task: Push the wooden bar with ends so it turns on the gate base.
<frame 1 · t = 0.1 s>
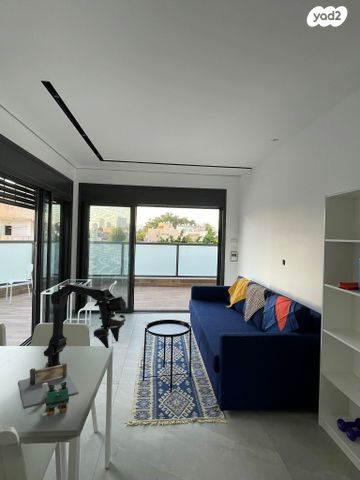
hand: (112, 344, 143), 15 cm above the table, tool pointing down, fingers open, 9 cm apart
gate base: (47, 387, 131), on the table
wooden bar with ends: (48, 372, 135), point 4 cm above the table, hinge at 0.0°
binoculars: (56, 407, 116), on the table
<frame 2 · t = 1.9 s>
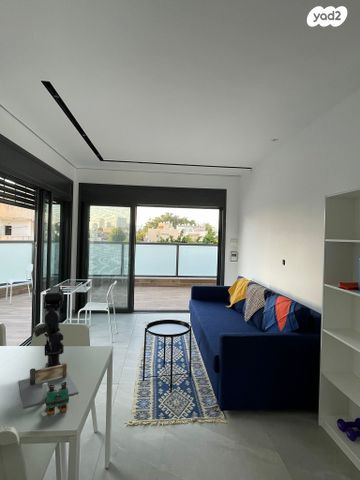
hand: (52, 350, 140), 13 cm above the table, tool pointing down, fingers open, 3 cm apart
nothing on the table moved.
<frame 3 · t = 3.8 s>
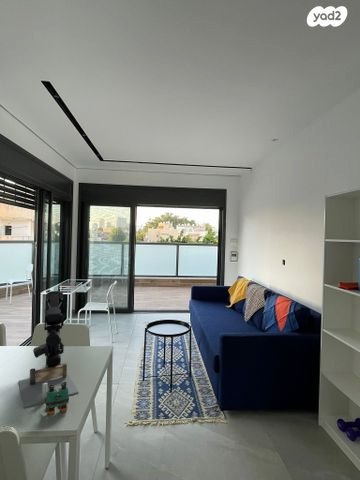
hand: (52, 371, 139), 4 cm above the table, tool pointing down, fingers closed
wooden bar with ends: (48, 372, 135), point 4 cm above the table, hinge at -0.9°, touching gripper
everything else where it was.
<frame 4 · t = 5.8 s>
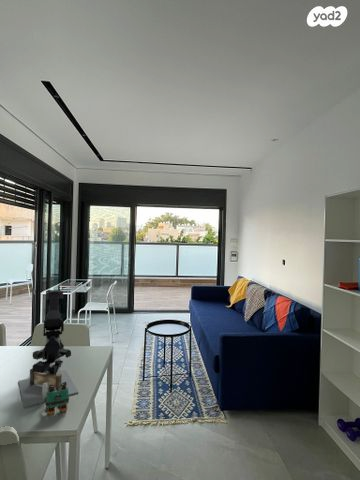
hand: (52, 378, 132), 4 cm above the table, tool pointing down, fingers closed
wooden bar with ends: (45, 378, 130), point 4 cm above the table, hinge at -48.7°, touching gripper
everything else where it was.
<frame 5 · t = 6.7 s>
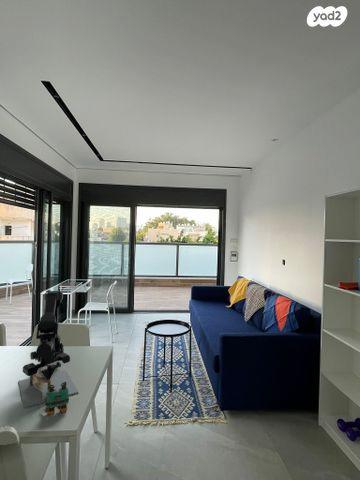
hand: (47, 382, 128), 4 cm above the table, tool pointing down, fingers closed
wooden bar with ends: (39, 381, 128), point 4 cm above the table, hinge at -72.5°, touching gripper
everything else where it was.
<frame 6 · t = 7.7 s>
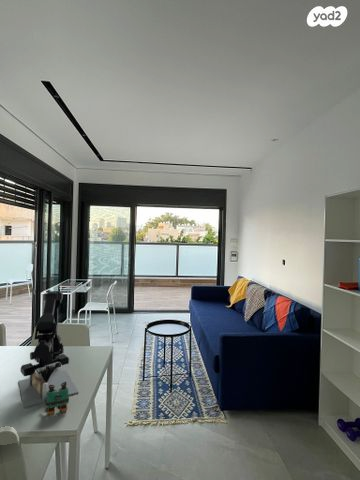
hand: (45, 383, 127), 4 cm above the table, tool pointing down, fingers closed
wooden bar with ends: (37, 382, 127), point 4 cm above the table, hinge at -80.1°
everything else where it was.
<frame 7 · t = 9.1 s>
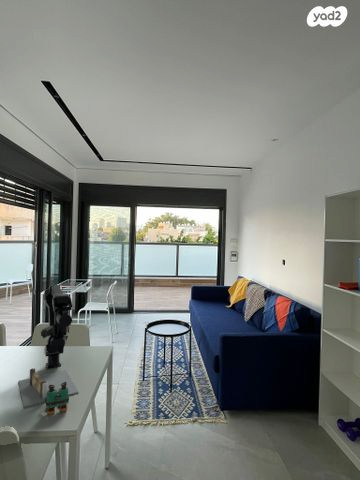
hand: (60, 353, 138), 13 cm above the table, tool pointing down, fingers closed
nothing on the table moved.
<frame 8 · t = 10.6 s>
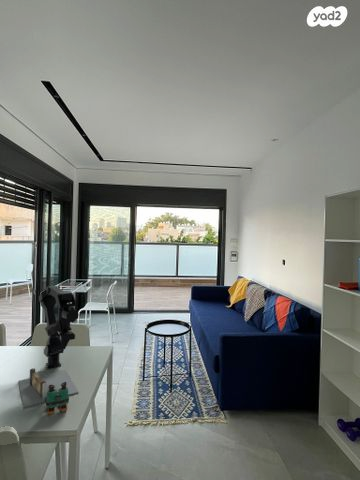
hand: (63, 349, 142), 13 cm above the table, tool pointing down, fingers closed
nothing on the table moved.
at the end: wooden bar with ends at -80° (first picture: +0°); binoculars moved 0.3 cm from its start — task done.
